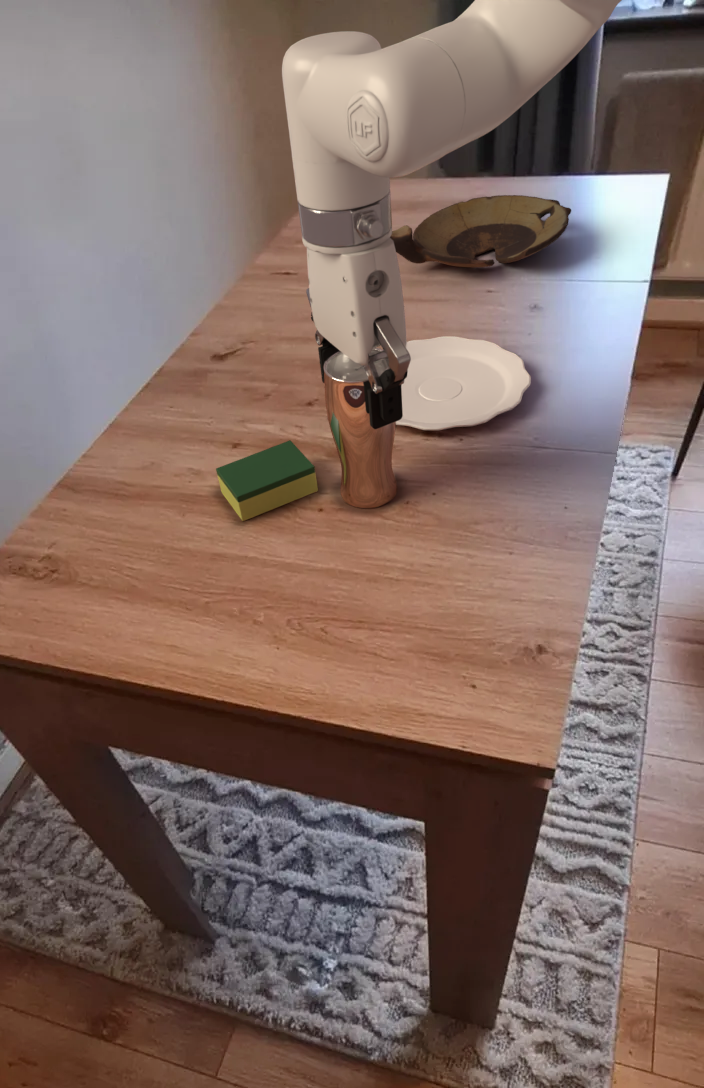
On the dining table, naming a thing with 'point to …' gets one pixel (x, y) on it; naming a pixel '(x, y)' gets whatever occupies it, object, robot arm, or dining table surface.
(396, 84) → the robot arm
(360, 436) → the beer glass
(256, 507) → the sponge
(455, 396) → the plate
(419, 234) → the broken bowl
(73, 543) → the dining table surface
